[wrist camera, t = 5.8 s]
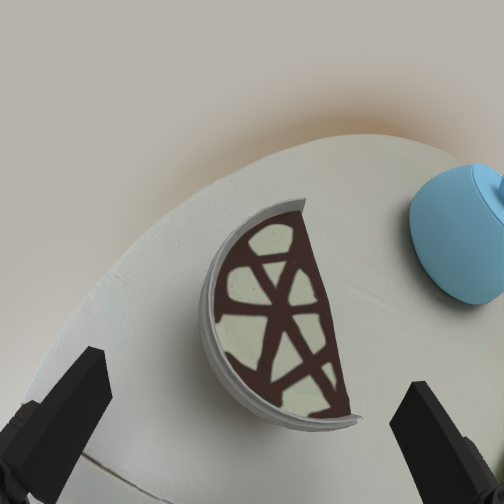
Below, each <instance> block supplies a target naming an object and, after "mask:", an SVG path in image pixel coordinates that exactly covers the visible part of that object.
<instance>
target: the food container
mask: <svg viewBox="0 0 504 504" xmlns="http://www.w3.org/2000/svg"><path fill="white" fill-rule="evenodd" d="M305 200H306V198H298V199H290V200H286V201H283V202H279V203H275V204H273V205H271V206H268V207H266V208H264V209H262V210H260V211H258V212H257V213H255V214H254V215H252V216H250V217H249V218H248V219H246V220H245V221H244V222H243V223H242V224H241V225H240V226H238V227H237V228H236V229H235V230H234V231H233V232H232V233H231V234H230V235H229V236H228V238H227V239H226V240H225V241H224V242H223V244H222V245H221V246H220V248H219V250H218V251H217V253H216V255H215V257H214V259H213V260H212V262H211V265H210V268H209V270H208V273H207V275H206V278H205V281H204V284H203V287H202V290H201V296H200V303H199V330H200V335H201V340H202V345H203V348H204V351H205V354H206V356H207V359H208V361H209V364H210V366H211V368H212V369H213V371H214V373H215V374H216V376H217V378H218V379H219V381H220V383H221V384H222V385H223V386H224V387H225V389H226V390H227V391H228V392H229V393H230V394H231V396H232V397H233V398H234V399H235V400H236V401H238V402H239V403H240V404H241V405H243V406H244V407H245V408H246V409H248V410H249V411H250V412H252V413H253V414H255V415H257V416H259V417H261V418H262V419H264V420H266V421H268V422H270V423H273V424H276V425H279V426H282V427H285V428H288V429H293V430H300V431H307V432H321V431H333V430H337V429H342V428H346V427H349V426H352V425H355V424H357V420H358V419H362V418H363V417H362V416H358V415H354V414H351V410H350V405H349V397H348V395H347V392H346V388H345V384H344V379H343V374H342V369H341V364H340V359H339V354H338V348H337V343H336V338H335V332H334V326H333V320H332V315H331V310H330V305H329V301H328V297H327V294H326V291H325V288H324V285H323V282H322V279H321V276H320V273H319V270H318V267H317V264H316V261H315V258H314V255H313V251H312V248H311V244H310V241H309V237H308V234H307V231H306V227H305V224H304V221H303V217H302V211H303V208H304V204H305Z"/></svg>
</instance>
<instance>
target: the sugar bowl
mask: <svg viewBox="0 0 504 504" xmlns="http://www.w3.org/2000/svg"><path fill="white" fill-rule="evenodd" d="M409 221H410V229H411V235H412V239H413V243H414V247H415V250H416V253H417V255H418V258H419V260H420V262H421V264H422V266H423V267H424V269H425V271H426V272H427V274H428V275H429V276H430V278H431V279H432V280H433V281H434V282H435V283H436V284H437V285H438V286H439V287H440V288H441V289H442V290H444V291H445V292H446V293H448V294H449V295H451V296H453V297H454V298H456V299H459V300H461V301H463V302H466V303H470V304H485V303H488V302H490V301H492V300H494V299H495V298H496V297H498V296H499V295H500V294H501V293H502V292H503V291H504V175H503V176H501V175H500V174H499V173H498V172H497V171H495V170H494V169H492V168H491V167H489V166H487V165H483V164H469V165H465V166H461V167H457V168H454V169H450V170H448V171H445V172H443V173H441V174H439V175H437V176H435V177H434V178H432V179H431V180H430V181H428V182H427V183H426V184H425V185H424V186H423V187H422V188H421V189H420V190H419V191H418V192H417V194H416V195H415V196H414V198H413V200H412V203H411V207H410V213H409Z"/></svg>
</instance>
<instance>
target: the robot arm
mask: <svg viewBox="0 0 504 504" xmlns="http://www.w3.org/2000/svg"><path fill="white" fill-rule="evenodd" d="M112 398H113V397H112V393H111V388H110V383H109V377H108V372H107V366H106V360H105V353H104V350H100V349H97V348H94V347H90V346H88V347H87V349H86V350H85V351H84V352H83V353H82V354H81V355H80V357H79V358H78V359H77V360H76V361H75V362H74V364H73V365H72V366H71V367H70V368H69V369H68V371H67V372H66V373H65V374H64V375H63V377H62V378H61V379H60V380H59V381H58V383H57V384H56V385H55V386H54V387H53V389H52V390H51V391H50V392H49V394H48V395H47V396H46V397H45V399H44V400H43V401H42V402H41V404H39V403H37V402H35V401H33V400H31V401H30V402H28V403H26V404H24V405H23V406H21V407H20V409H19V410H18V411H17V412H16V414H15V416H14V417H12V419H11V420H10V421H9V424H7V425H6V426H5V427H4V428H3V430H2V431H1V432H0V504H30V503H29V500H28V498H27V495H28V493H29V492H30V493H31V494H32V495H33V496H34V498H35V499H37V500H39V501H40V502H42V503H44V504H56V502H57V500H58V498H59V496H60V494H61V492H62V490H63V488H64V486H65V484H66V482H67V480H68V478H69V476H70V474H71V472H72V470H73V468H74V466H75V464H76V463H77V461H78V459H79V457H80V455H81V453H82V451H83V449H84V448H85V446H86V444H87V442H88V440H89V438H90V437H91V435H92V433H93V431H94V429H95V428H96V426H97V424H98V422H99V420H100V419H101V417H102V415H103V413H104V412H105V410H106V408H107V406H108V405H109V403H110V401H111V399H112ZM389 424H390V427H391V429H392V431H393V433H394V435H395V438H396V440H397V442H398V444H399V447H400V449H401V451H402V453H403V456H404V458H405V460H406V463H407V465H408V467H409V470H410V472H411V474H412V477H413V479H414V482H415V484H416V487H417V489H418V491H419V494H420V496H421V499H422V501H423V504H504V484H499V483H498V482H497V480H496V479H495V477H494V475H493V473H492V472H491V470H490V468H489V467H488V465H487V463H486V462H485V460H483V457H482V455H481V454H480V453H479V450H478V449H477V447H476V446H475V444H474V443H473V442H472V441H471V440H469V439H468V438H467V437H462V435H461V434H460V432H459V431H458V429H457V428H456V426H455V425H454V423H453V422H452V420H451V418H450V417H449V415H448V414H447V412H446V411H445V409H444V408H443V406H442V405H441V404H440V402H439V401H438V399H437V398H436V396H435V395H434V393H433V392H432V390H431V389H430V388H429V386H428V385H427V383H426V382H425V381H417V382H412V383H411V385H410V387H409V389H408V391H407V393H406V395H405V397H404V398H403V400H402V402H401V404H400V406H399V407H398V409H397V411H396V413H395V415H394V416H393V418H392V420H391V421H390V423H389Z"/></svg>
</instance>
